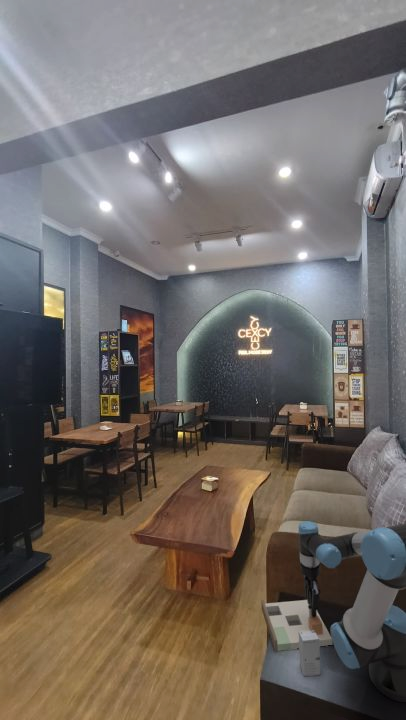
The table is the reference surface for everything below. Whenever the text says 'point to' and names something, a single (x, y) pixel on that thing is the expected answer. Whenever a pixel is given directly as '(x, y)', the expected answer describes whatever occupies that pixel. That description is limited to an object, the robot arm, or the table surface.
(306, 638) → the skincare box
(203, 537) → the table surface
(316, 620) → the block
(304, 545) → the robot arm
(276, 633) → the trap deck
